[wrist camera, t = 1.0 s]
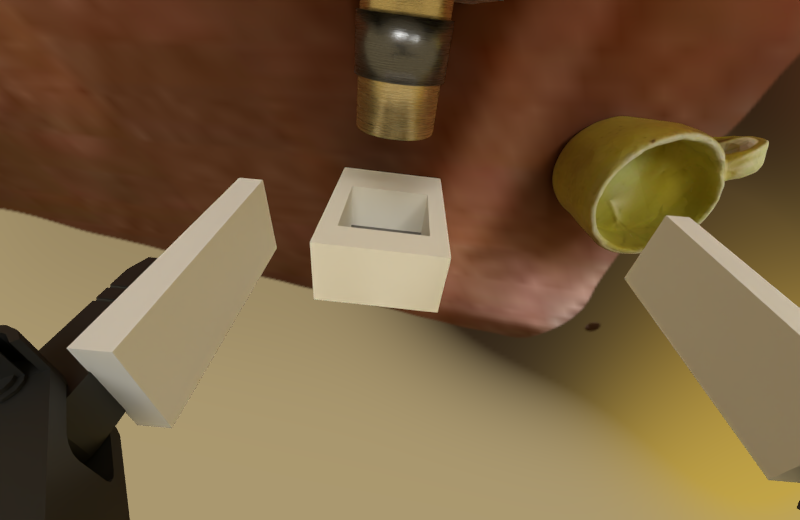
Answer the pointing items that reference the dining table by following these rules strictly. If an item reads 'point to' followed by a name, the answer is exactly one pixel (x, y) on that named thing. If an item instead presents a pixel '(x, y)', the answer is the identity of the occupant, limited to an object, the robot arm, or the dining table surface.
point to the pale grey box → (474, 1)
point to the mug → (646, 176)
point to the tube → (401, 65)
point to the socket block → (382, 242)
